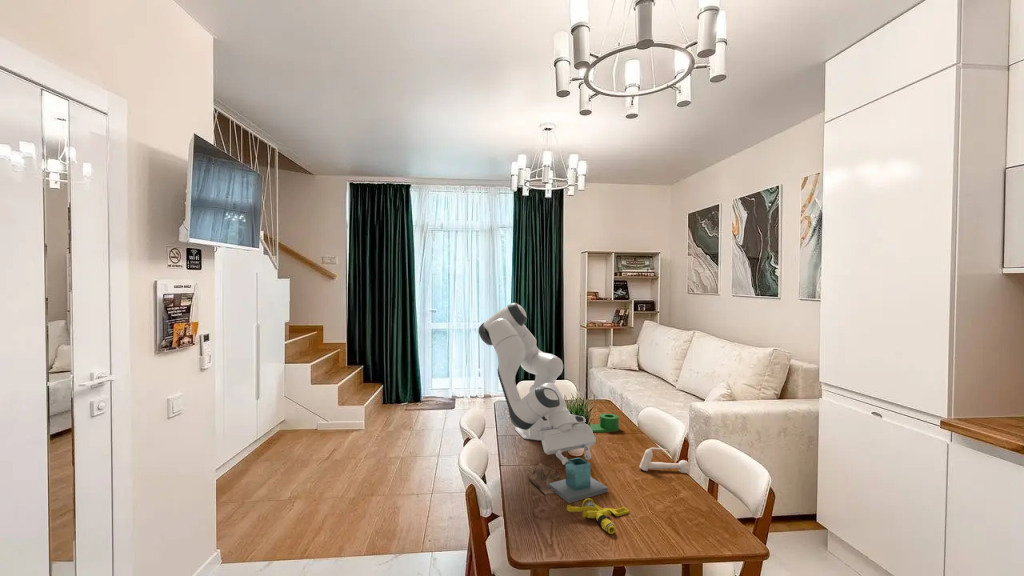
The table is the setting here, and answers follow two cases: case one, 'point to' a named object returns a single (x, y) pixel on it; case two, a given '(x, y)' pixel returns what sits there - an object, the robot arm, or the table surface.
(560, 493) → the post
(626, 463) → the table surface
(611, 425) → the green bracket
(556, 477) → the wooden fragment
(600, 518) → the sprinkler
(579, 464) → the teal square cup
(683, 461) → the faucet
